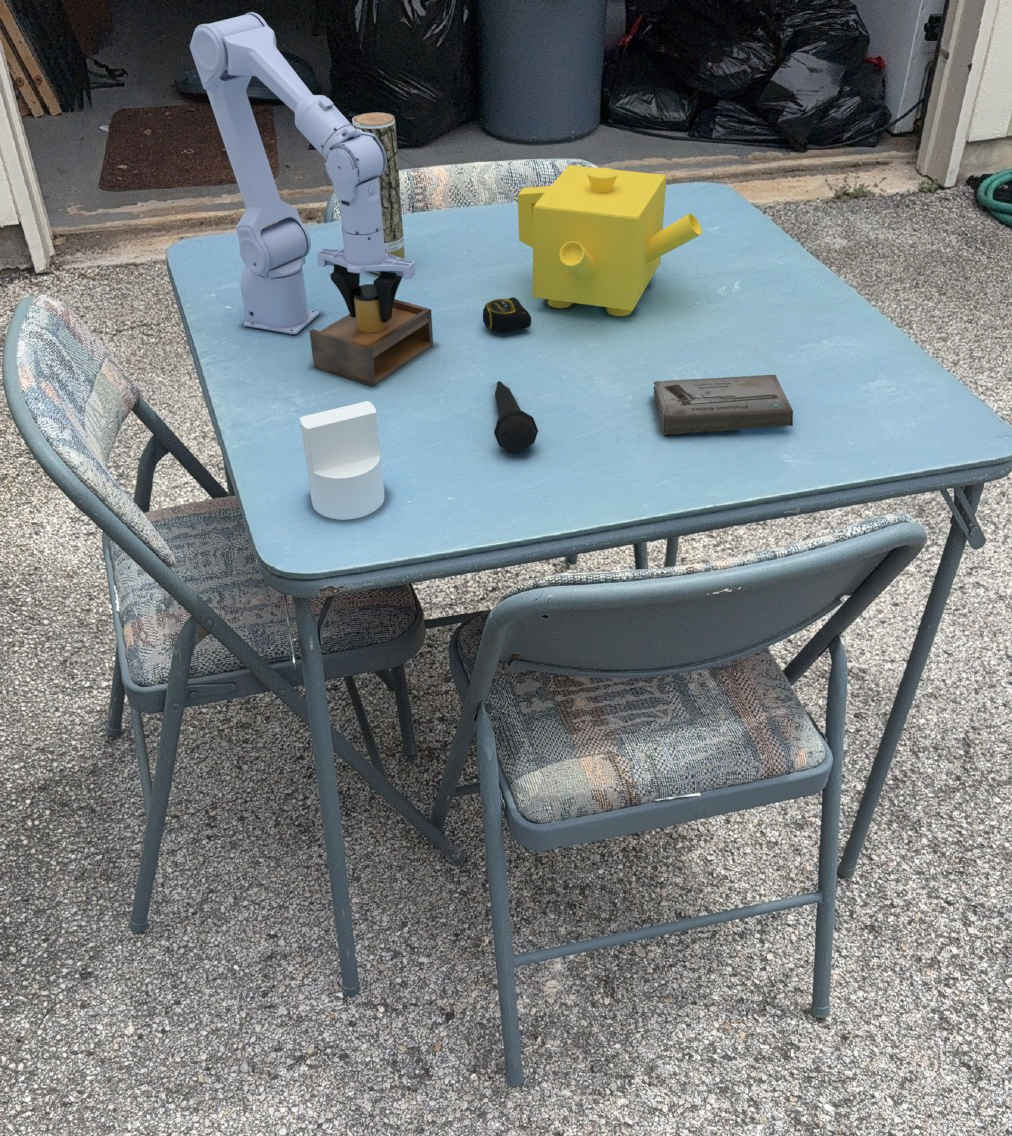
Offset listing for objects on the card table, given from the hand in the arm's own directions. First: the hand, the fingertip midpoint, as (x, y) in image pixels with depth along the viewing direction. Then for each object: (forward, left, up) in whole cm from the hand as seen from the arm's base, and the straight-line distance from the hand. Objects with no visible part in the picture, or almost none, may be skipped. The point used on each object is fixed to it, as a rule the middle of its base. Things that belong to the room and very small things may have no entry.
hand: (371, 317), depth 167 cm
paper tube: (-13, +30, -7) cm, 33 cm away
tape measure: (+15, +16, -7) cm, 23 cm away
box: (+52, 0, -7) cm, 53 cm away
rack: (0, 0, -6) cm, 6 cm away
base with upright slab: (+13, -35, -7) cm, 38 cm away
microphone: (+26, -11, -7) cm, 29 cm away
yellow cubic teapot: (+26, +32, -7) cm, 42 cm away
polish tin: (0, 0, -1) cm, 1 cm away
